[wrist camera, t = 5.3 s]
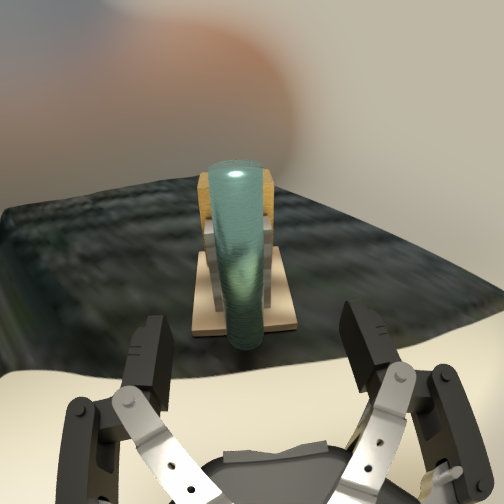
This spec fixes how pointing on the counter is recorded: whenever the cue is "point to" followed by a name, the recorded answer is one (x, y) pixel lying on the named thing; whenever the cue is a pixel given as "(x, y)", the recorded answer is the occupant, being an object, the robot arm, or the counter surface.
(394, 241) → the counter surface
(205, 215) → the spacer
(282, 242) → the counter surface
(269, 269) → the frame
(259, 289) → the shaft
